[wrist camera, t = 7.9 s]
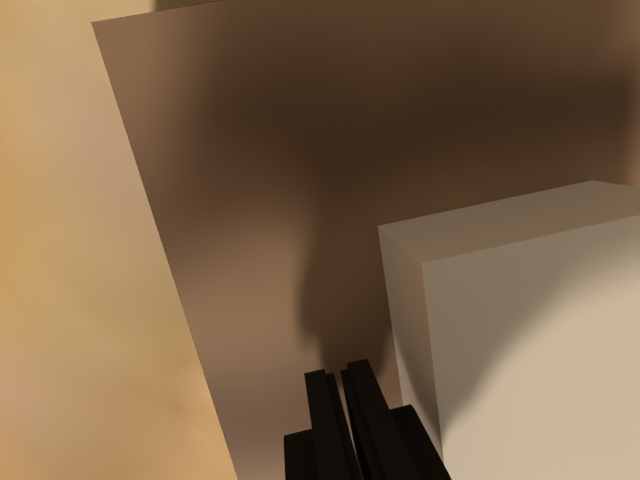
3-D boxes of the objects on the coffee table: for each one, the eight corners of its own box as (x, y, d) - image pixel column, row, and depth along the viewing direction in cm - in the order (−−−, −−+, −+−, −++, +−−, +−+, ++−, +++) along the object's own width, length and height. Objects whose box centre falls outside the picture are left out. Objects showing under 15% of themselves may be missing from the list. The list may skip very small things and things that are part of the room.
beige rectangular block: (377, 225, 10) (421, 263, 7) (590, 180, 10) (715, 198, 7) (415, 487, 12) (458, 593, 10) (585, 442, 13) (675, 531, 10)
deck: (149, 59, 12) (91, 22, 8) (570, -16, 13) (699, -80, 9) (284, 528, 17) (289, 638, 14) (568, 451, 18) (646, 535, 15)
